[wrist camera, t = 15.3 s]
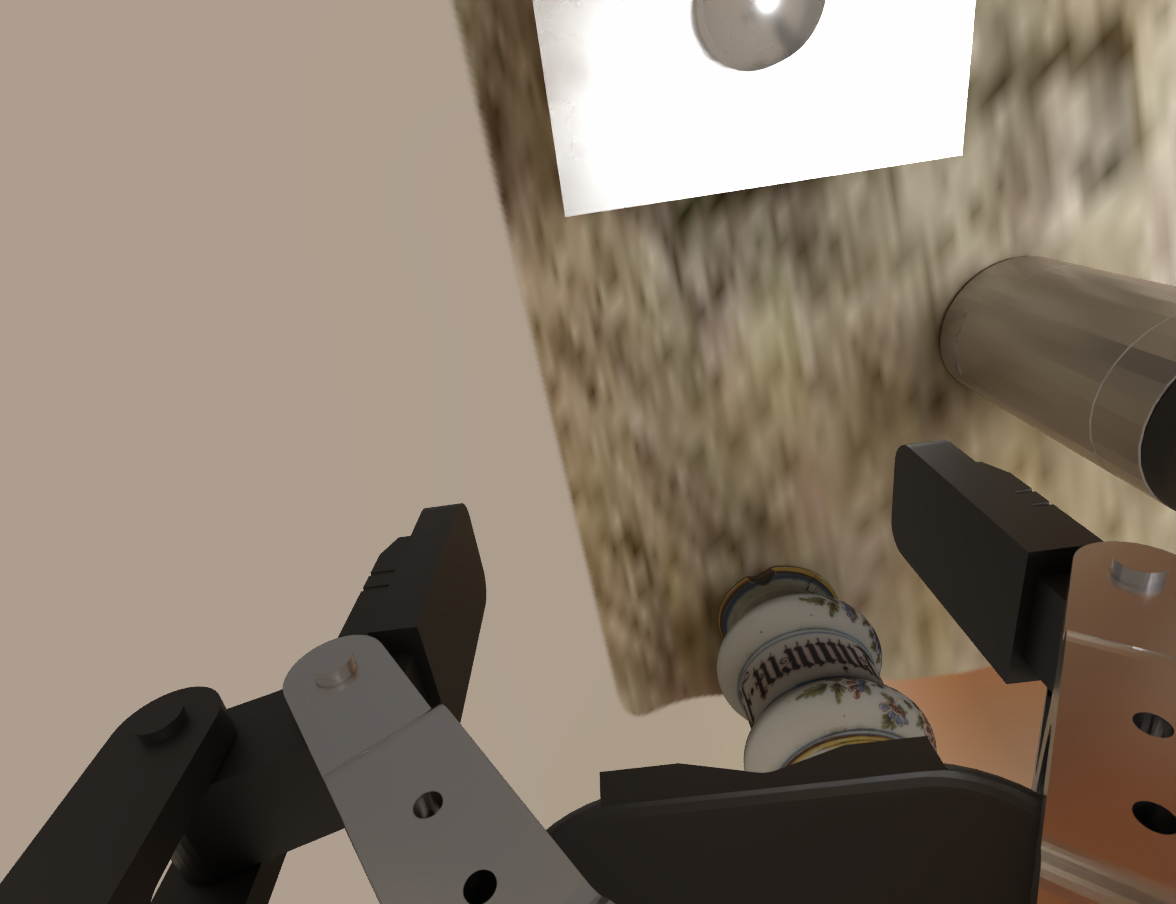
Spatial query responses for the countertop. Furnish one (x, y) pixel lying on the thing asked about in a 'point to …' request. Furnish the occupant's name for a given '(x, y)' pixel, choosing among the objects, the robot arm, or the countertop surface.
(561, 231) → the countertop surface
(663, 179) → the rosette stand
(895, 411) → the countertop surface
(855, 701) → the apothecary jar
